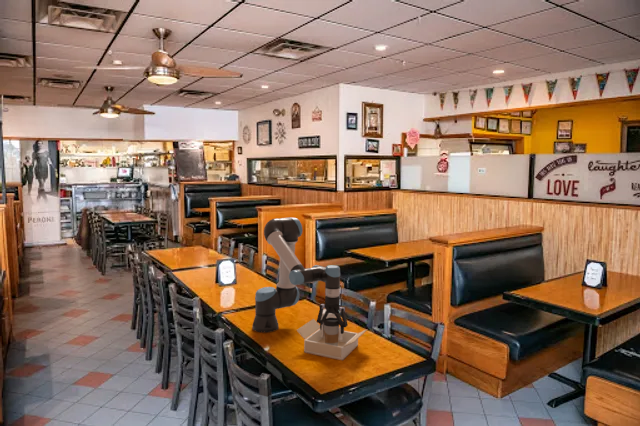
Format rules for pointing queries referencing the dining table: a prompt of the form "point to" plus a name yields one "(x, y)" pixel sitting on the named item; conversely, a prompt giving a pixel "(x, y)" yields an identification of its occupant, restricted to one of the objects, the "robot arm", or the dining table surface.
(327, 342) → the coffee cup
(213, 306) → the dining table surface
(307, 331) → the flap
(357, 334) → the flap
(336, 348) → the carton
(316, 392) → the dining table surface
